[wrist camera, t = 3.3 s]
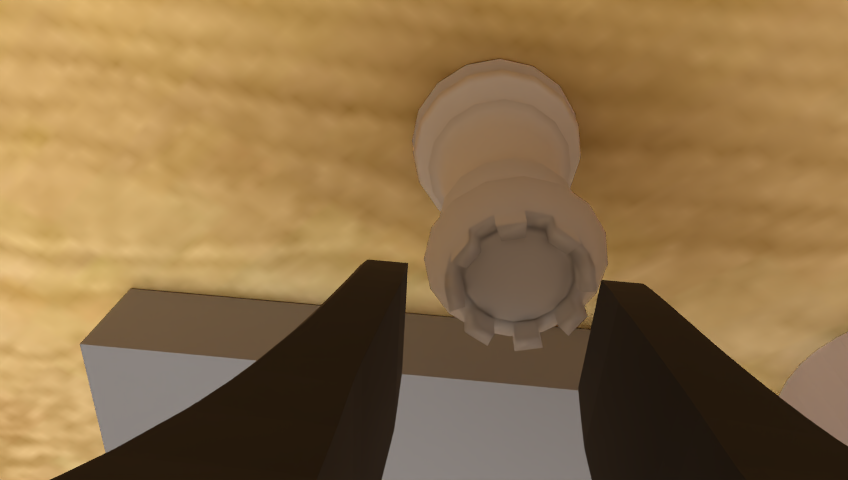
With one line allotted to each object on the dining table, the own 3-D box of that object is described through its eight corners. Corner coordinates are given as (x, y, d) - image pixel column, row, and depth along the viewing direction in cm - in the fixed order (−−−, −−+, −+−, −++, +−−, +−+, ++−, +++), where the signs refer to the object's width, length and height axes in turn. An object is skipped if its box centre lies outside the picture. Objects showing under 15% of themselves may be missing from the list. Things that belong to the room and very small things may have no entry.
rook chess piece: (487, 238, 19) (506, 432, 12) (380, 134, 18) (330, 284, 11) (608, 139, 18) (713, 295, 11) (501, 17, 16) (538, 101, 9)
